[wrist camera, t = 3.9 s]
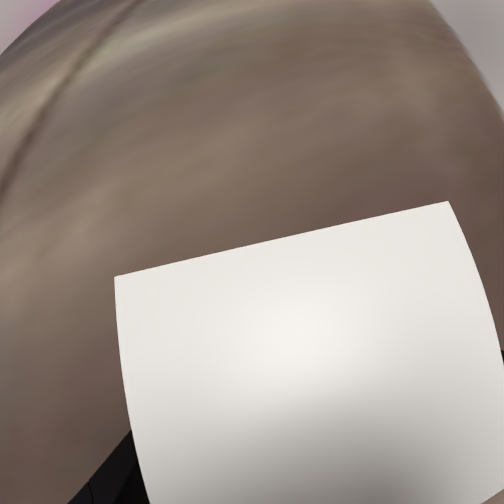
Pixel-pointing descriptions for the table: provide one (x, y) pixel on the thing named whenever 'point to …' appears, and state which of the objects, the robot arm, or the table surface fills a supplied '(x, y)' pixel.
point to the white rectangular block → (317, 369)
